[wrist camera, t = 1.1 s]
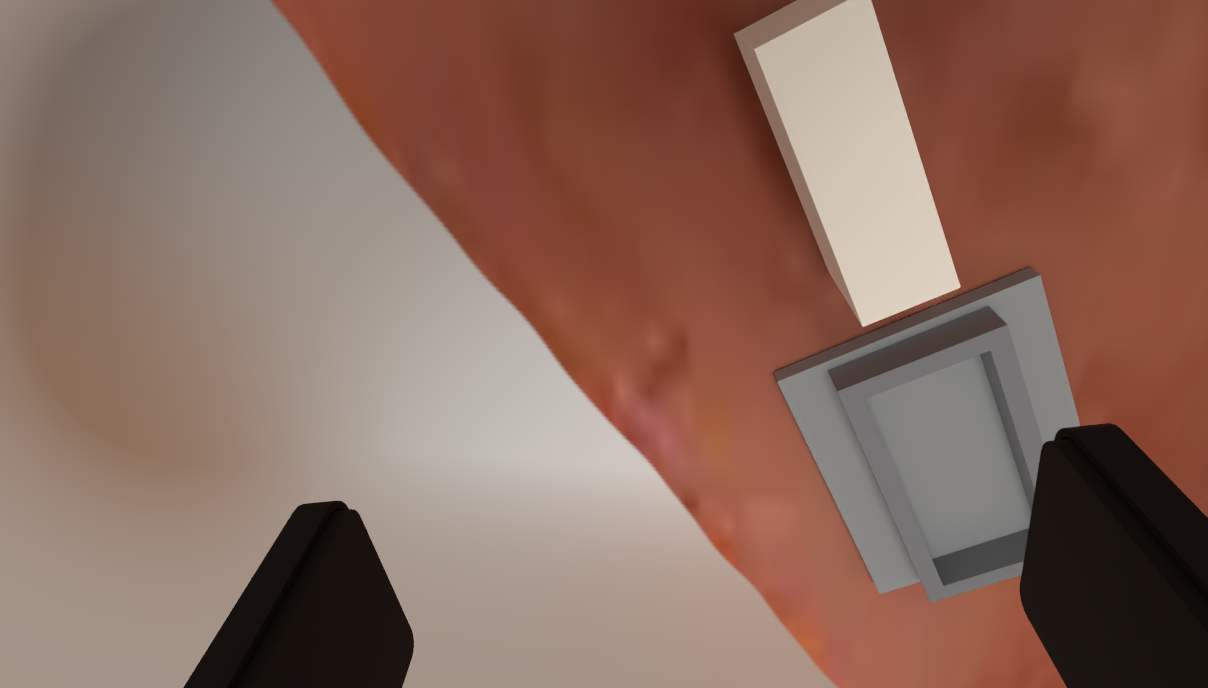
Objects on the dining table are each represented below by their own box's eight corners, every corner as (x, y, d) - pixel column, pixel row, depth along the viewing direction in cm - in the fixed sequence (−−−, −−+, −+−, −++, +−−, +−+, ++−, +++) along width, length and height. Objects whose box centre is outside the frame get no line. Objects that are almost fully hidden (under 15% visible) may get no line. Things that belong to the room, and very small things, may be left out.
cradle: (1029, 266, 34) (1062, 292, 31) (1095, 511, 41) (1127, 549, 38) (773, 371, 37) (784, 403, 34) (875, 581, 44) (890, 621, 41)
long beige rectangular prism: (825, -16, 29) (868, -11, 23) (909, 236, 33) (960, 287, 28) (733, 33, 30) (754, 49, 24) (828, 271, 34) (862, 326, 29)
